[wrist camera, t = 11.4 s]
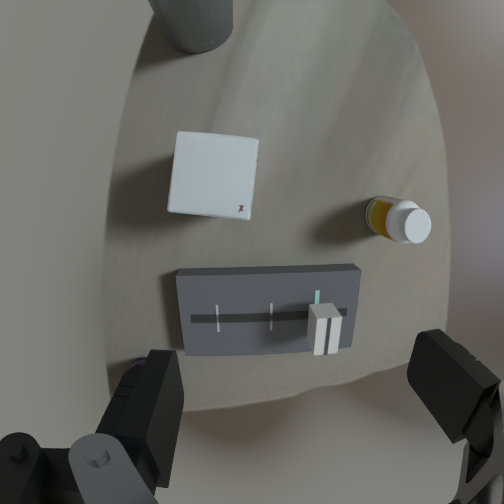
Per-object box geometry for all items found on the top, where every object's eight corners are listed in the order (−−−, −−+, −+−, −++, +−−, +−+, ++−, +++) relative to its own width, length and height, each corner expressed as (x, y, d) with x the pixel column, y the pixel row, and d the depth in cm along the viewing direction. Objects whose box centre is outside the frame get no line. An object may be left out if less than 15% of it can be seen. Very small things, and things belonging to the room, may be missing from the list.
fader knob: (306, 299, 37) (317, 319, 31) (328, 298, 37) (342, 317, 32) (304, 332, 38) (313, 355, 33) (325, 331, 38) (337, 353, 33)
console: (179, 268, 39) (175, 276, 36) (353, 263, 40) (361, 270, 37) (188, 344, 42) (185, 355, 39) (344, 337, 43) (351, 347, 40)
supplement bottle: (371, 239, 39) (406, 257, 30) (358, 204, 38) (393, 214, 28) (400, 224, 39) (439, 237, 29) (389, 189, 37) (428, 195, 28)
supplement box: (254, 151, 35) (263, 138, 23) (246, 208, 37) (250, 224, 25) (196, 144, 35) (176, 128, 23) (189, 201, 37) (165, 213, 24)
